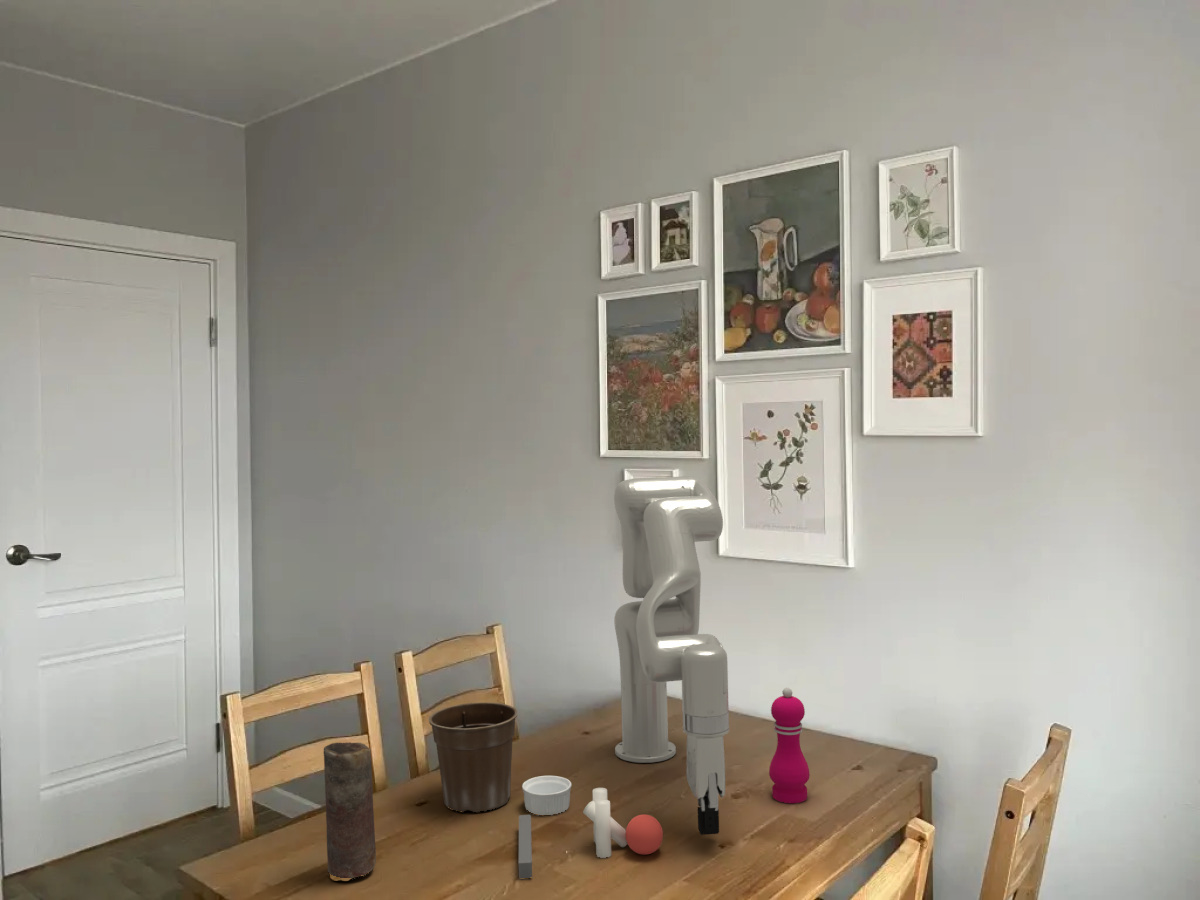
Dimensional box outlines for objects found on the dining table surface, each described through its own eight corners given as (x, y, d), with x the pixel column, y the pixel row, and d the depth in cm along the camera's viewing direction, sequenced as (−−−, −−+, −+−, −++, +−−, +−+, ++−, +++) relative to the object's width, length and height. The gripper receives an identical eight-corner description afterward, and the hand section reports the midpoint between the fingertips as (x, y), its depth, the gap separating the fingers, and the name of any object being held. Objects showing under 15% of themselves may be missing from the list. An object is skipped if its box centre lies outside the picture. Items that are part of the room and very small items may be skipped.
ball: (626, 805, 157) (660, 807, 159) (616, 837, 158) (650, 839, 160) (638, 829, 151) (672, 831, 153) (627, 861, 152) (662, 864, 154)
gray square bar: (519, 829, 166) (519, 815, 166) (531, 829, 166) (530, 814, 166) (519, 879, 148) (518, 863, 148) (532, 878, 148) (531, 862, 148)
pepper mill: (810, 805, 172) (807, 694, 172) (769, 803, 174) (766, 693, 173) (809, 790, 179) (807, 683, 179) (770, 788, 181) (767, 682, 180)
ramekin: (579, 801, 178) (578, 777, 178) (561, 820, 170) (560, 796, 169) (534, 796, 181) (533, 773, 181) (514, 815, 172) (514, 791, 172)
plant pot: (413, 803, 179) (410, 716, 178) (481, 777, 191) (478, 696, 190) (470, 826, 168) (467, 734, 167) (538, 798, 179) (535, 711, 179)
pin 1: (593, 838, 161) (592, 788, 161) (607, 837, 162) (606, 787, 161) (594, 844, 159) (593, 793, 159) (609, 844, 159) (607, 792, 159)
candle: (333, 863, 155) (328, 739, 155) (379, 859, 156) (375, 736, 155) (323, 885, 148) (318, 755, 147) (372, 882, 148) (367, 753, 148)
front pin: (620, 843, 159) (582, 809, 159) (630, 832, 159) (592, 798, 159) (622, 849, 157) (583, 815, 156) (632, 838, 157) (594, 804, 156)
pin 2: (595, 851, 156) (594, 799, 156) (610, 851, 157) (609, 798, 156) (596, 858, 154) (595, 805, 154) (612, 857, 154) (610, 804, 154)
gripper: (675, 709, 166) (678, 815, 166) (690, 737, 151) (694, 854, 151) (719, 706, 166) (721, 812, 167) (738, 735, 151) (741, 851, 152)
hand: (708, 832), depth 159 cm, fingers closed
